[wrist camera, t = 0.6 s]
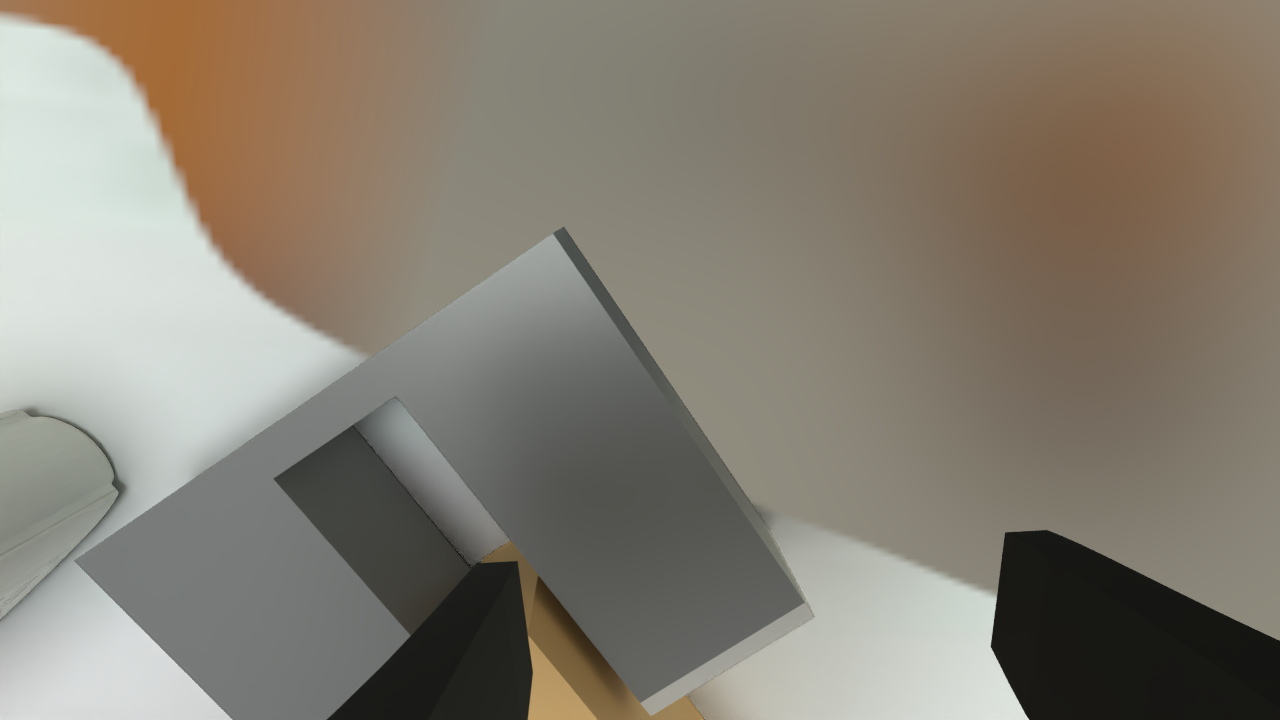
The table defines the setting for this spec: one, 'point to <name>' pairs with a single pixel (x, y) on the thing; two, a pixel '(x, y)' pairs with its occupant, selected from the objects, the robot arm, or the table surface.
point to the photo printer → (45, 498)
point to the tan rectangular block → (573, 662)
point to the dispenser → (500, 479)
